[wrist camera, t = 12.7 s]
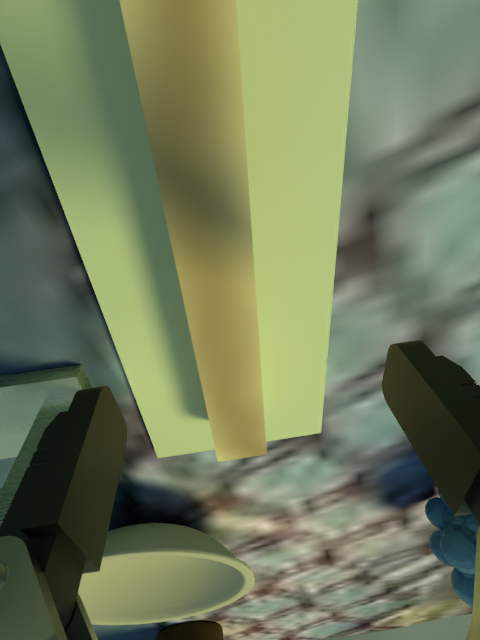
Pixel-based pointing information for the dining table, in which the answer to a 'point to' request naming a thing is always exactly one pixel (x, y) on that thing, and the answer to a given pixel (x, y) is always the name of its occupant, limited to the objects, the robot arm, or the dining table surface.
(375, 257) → the dining table surface
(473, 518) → the grapes
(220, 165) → the birch batten
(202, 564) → the dish
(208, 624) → the olive oil
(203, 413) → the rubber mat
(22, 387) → the hook rack
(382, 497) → the dining table surface
